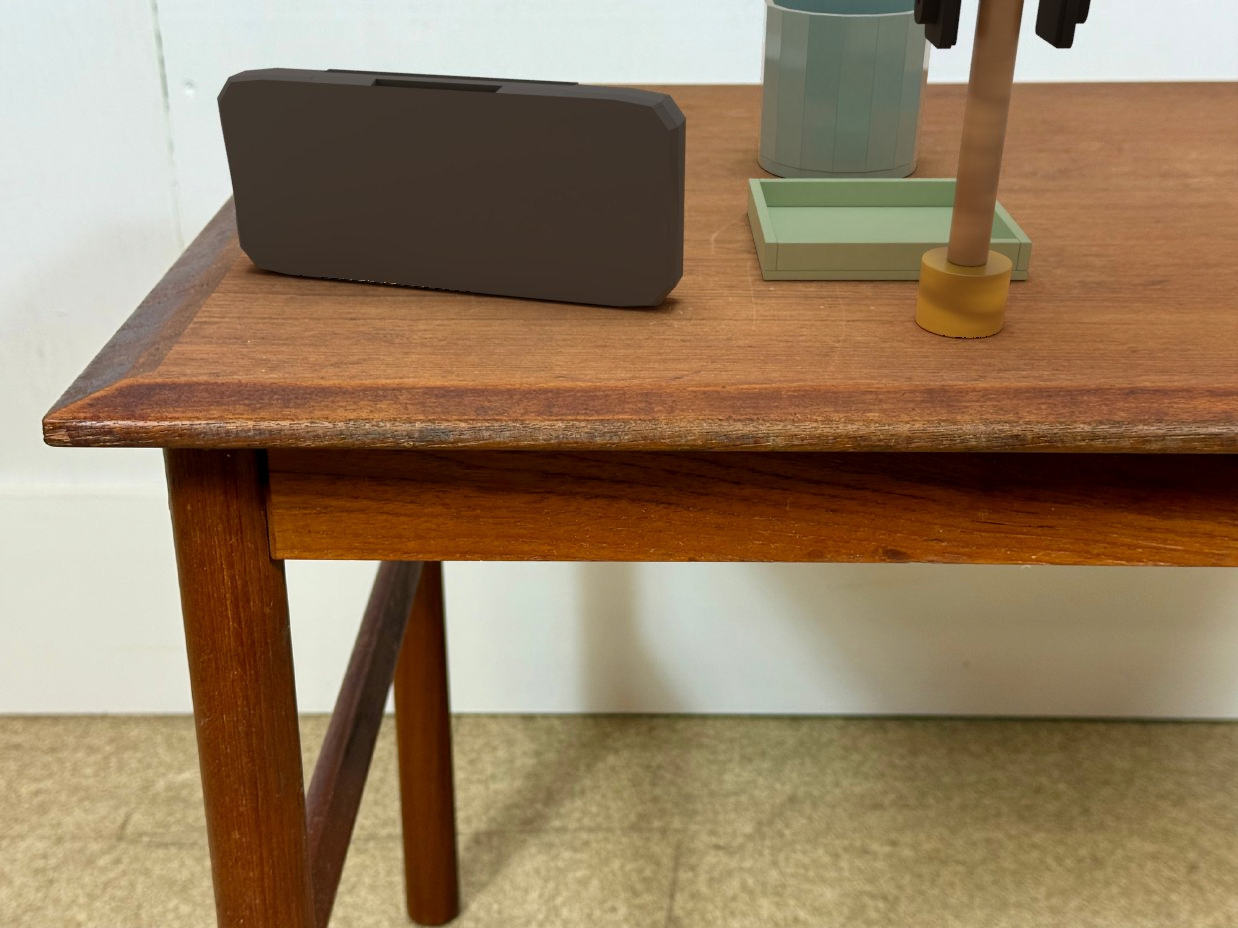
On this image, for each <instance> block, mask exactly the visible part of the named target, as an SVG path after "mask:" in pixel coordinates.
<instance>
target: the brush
mask: <svg viewBox="0 0 1238 928" xmlns="http://www.w3.org/2000/svg"><path fill="white" fill-rule="evenodd" d="M1024 5H1025V0H978V4H977V11H976V20H975V27H974V35H973V43H972V51H971V59H970V67H969V75H968V83H967V84H968V85H967V91H966V100H965V108H964V115H963V124H962V130H961V131H962V132H961V139H960V147H959V156H958V162H957V163H958V164H957V165H958V166H957V171H956V172H957V173H956V178H957V179H956V187H955V195H954V203H953V211H952V219H951V227H950V235H949V243H948V246H947V247H940V248H935V249H932V250H929V251H927V252H926V253H924V254H923V256H922V260H921V269H920V278H919V280H918V287H917V296H916V304H915V313H914V320H915V322H916V324H917V325H918V326H919V327H921V328H922V329H924V330H926V331H928V332H931V333H932V334H935V335H941V336H943V335H945V336H944V337H948V338H955V337H962V338H961V339H977V338H976V337H979V338H980V337H981V338H987V337H990V336H993V334H994V335H996V334H997V333H1000V331H1002V329H1003V328H1004V323H1005V318H1006V311H1007V305H1008V304H1007V303H1008V297H1009V290H1010V284H1011V280H1010V278H1011V271H1012V262H1011V260H1010V259H1009V258H1007V257H1006V256H1004V255H1002V254H1000V253H997V252H995V251H991V250H989V247H990V240H991V233H992V226H993V219H994V211H995V204H996V199H997V196H998V189H999V182H1000V175H1001V168H1002V161H1003V154H1004V149H1005V148H1004V147H1005V140H1006V133H1007V125H1008V119H1009V112H1010V104H1011V98H1012V90H1013V84H1014V78H1015V77H1014V76H1015V69H1016V68H1015V67H1016V64H1017V63H1016V62H1017V54H1018V47H1019V42H1020V41H1019V40H1020V34H1021V28H1022V27H1021V26H1022V20H1023V13H1024ZM986 336H987V337H986ZM964 337H966V338H964ZM973 337H974V338H973ZM979 338H978V339H979Z"/></svg>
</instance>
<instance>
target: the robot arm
mask: <svg viewBox="0 0 1238 928" xmlns="http://www.w3.org/2000/svg"><path fill="white" fill-rule="evenodd" d="M962 1H963V0H915V3H914V20H915V22H916V23H917V24H925V29H924V33H925V38H926V39H927V40H928V41H929V42H930V43H931V46H933V47H934V48H935V49H937V50H950V49H952V47H953V46H955V47H956V45H957V43H958V35H959V27H960V19H961V18H960V17H961V10H962V9H961V7H962ZM1091 1H1092V0H1038V6H1037V11H1036V20H1035V27H1034V33H1035V35H1036V36H1037V37H1039V38H1040V39H1041V40H1043V41H1044V42H1046V43H1047V44H1049V45H1051V46H1052V47H1053V48H1055V49H1059V50H1060V49H1061V50H1063V49H1065V50H1068V49H1069V50H1070V49H1072V47H1073V44H1074V39H1075V33H1076V29H1077V25H1082V24H1083V25H1084V24H1085V23H1086V22H1087V19H1088V17H1089V13H1090V8H1091Z"/></svg>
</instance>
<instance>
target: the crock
mask: <svg viewBox="0 0 1238 928" xmlns="http://www.w3.org/2000/svg"><path fill="white" fill-rule="evenodd" d="M914 3H915V0H764V2H763V19H762V20H763V23H762V43H761V65H760V84H759V85H760V87H759V104H758V105H759V106H758V109H759V110H758V125H757V126H758V127H757V150H758V151H757V163H758V165H759V166H760V167H761V168H762V170H765V171H766V172H768V173H769V174H772V175H775V176H778V177H781V178H783V179H797V178H907V177H908V176H910V175H911V174H913V173H914V172H915V170H916V169H917V163H918V157H919V156H920V152H921V151H920V150H921V141H922V132H923V122H924V112H925V106H926V105H925V104H926V95H927V87H928V77H929V68H930V59H931V58H930V57H931V50H932V44H931V43H930V42H929V41H928V40H927V39H926V38H925V33H924V29H925V24H917V23H916V22H915V20H914Z"/></svg>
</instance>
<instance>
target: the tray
mask: <svg viewBox="0 0 1238 928" xmlns="http://www.w3.org/2000/svg"><path fill="white" fill-rule="evenodd" d="M956 179H957V177H955V178H954V177H948V178H947V177H945V178H944V177H931V178H930V177H927V178H926V177H925V178H923V177H920V178H919V177H917V178H916V177H910V178H909V177H903V178H797V179H787V178H756V177H755V178H748V179H747V205H746V208H747V209H746V212H747V216H748V217H747V218H748V221H749V226H750V230H751V233H752V238H753V241H754V246H755V250H756V254H757V258H758V263H759V267H760V270H761V274H762V277H763V281H919V278H920V269H921V260H922V256H923V254H924V253H926V252H927V251H929V250H932V249H935V248H940V247H947V246H948V243H949V235H950V227H951V219H952V211H953V203H954V195H955V187H956ZM1032 247H1033V241H1032V240H1031V239H1030V238H1029V237H1028V235H1027V234H1026V233H1025V232H1024V230H1023V229H1022V228H1021V227H1020V226H1019V224H1018V223H1017V222H1016V221H1015V220H1014V218H1013V217H1012V216H1011V214H1010V213H1009V212H1008V211H1007V210H1006V208H1005V207H1004V206H1003V205H1002V203H1001V202H1000V201H999V200H998V199H997V198H996V204H995V211H994V219H993V226H992V233H991V240H990V247H989V250H991V251H995V252H997V253H1000V254H1002V255H1004V256H1006V257H1007V258H1009V259H1010V260H1011V262H1012V271H1011V278H1010V281H1027V279H1028V273H1029V267H1030V260H1031V254H1032V249H1033V248H1032Z"/></svg>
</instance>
